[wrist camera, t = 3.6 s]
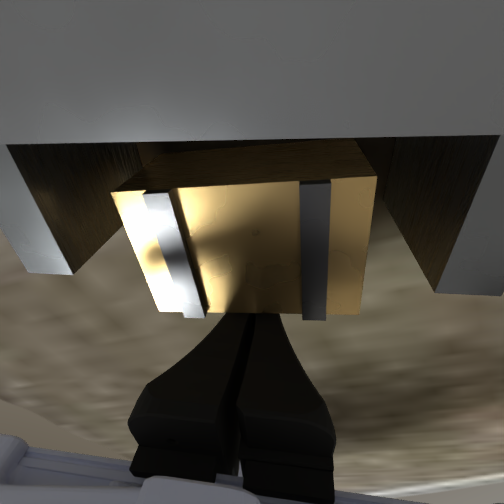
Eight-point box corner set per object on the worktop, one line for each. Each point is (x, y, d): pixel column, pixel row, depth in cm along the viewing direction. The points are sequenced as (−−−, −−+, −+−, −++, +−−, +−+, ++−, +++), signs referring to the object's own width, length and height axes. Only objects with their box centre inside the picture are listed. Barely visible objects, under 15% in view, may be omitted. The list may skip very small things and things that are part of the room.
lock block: (344, 250, 13) (360, 321, 10) (190, 253, 15) (156, 317, 11) (353, 137, 11) (379, 180, 7) (162, 153, 12) (105, 196, 8)
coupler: (422, 200, 11) (527, 328, 6) (119, 197, 13) (1, 295, 8) (516, -107, 7) (1205, -601, 2) (37, -49, 9) (-363, -199, 3)
